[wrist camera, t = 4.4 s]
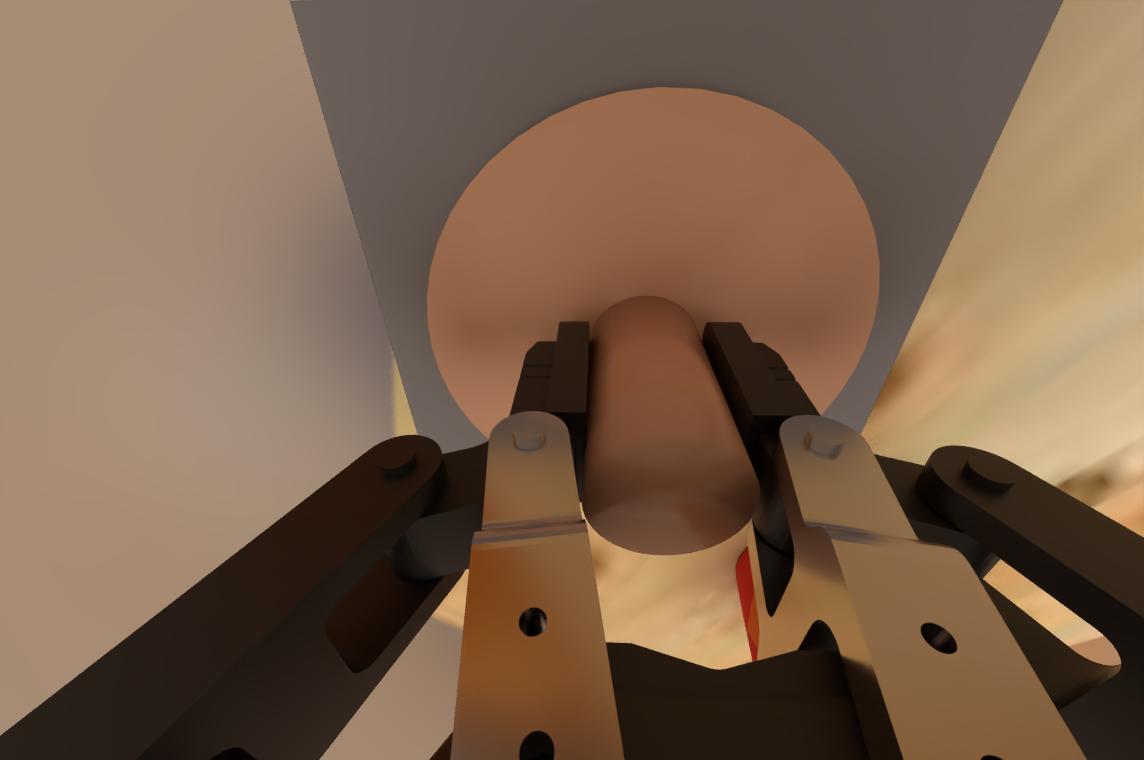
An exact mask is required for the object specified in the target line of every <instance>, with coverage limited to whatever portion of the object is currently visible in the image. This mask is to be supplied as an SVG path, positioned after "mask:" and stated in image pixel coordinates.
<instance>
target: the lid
mask: <svg viewBox="0 0 1144 760" xmlns="http://www.w3.org/2000/svg"><path fill="white" fill-rule="evenodd" d="M879 273H880V262H879V256H878V249H877V242H876V236H875V232H874V229H873V226H872V223H871V220H870V217H869V214H868V211H867V208H866V205H865V203H864V201H863V199H862V197H861V196H860V194H859V192H858V190H857V188H856V186H855V185H854V183H853V181H852V179H851V177H850V176H849V175H848V173H847V172H846V171H845V170H844V168H843V167H842V166H841V165H840V163H839V162H838V161H837V160H836V158H835V157H834V156H833V155H832V153H831V152H830V151H829V150H828V149H827V148H825V147H824V146H823V145H822V144H821V143H820V142H819V141H817V140H816V139H815V138H814V137H813V136H812V135H810V134H809V133H808V132H807V131H806V130H805V129H804V128H802V127H800V126H799V125H797V124H795V123H794V122H792V121H790V120H789V119H787V118H785V117H783V116H782V115H780V114H778V113H777V112H775V111H773V110H771V109H769V108H766V107H764V106H761V105H758V104H756V103H753V102H751V101H748V100H745V99H743V98H740V97H738V96H733V95H728V94H723V93H718V92H713V91H708V90H703V89H694V88H669V87H651V88H642V89H634V90H625V91H618V92H614V93H611V94H607V95H604V96H600V97H596V98H593V99H589V100H585V101H583V102H580V103H578V104H576V105H574V106H571V107H569V108H567V109H565V110H562V111H560V112H558V113H556V114H553V115H551V116H550V117H548V118H547V119H545V120H543V121H542V122H540V123H539V124H537V125H535V126H534V127H532V128H531V129H529V130H528V131H526V132H524V133H523V134H521V135H520V136H518V137H517V138H516V139H514V140H513V141H512V142H511V143H510V144H509V145H507V146H506V147H505V148H504V149H503V150H502V151H500V152H499V153H498V154H497V155H496V156H495V157H493V158H492V159H491V160H490V161H489V162H488V163H487V164H486V166H485V167H484V168H483V169H482V170H481V171H480V173H479V174H478V175H477V176H476V177H475V178H474V179H473V181H472V182H471V183H470V184H469V185H468V186H467V188H466V189H465V191H464V193H463V194H462V196H461V197H460V199H459V201H458V202H457V204H456V205H455V207H454V209H453V210H452V212H451V213H450V215H449V217H448V220H447V222H446V224H445V227H444V229H443V231H442V233H441V236H440V238H439V240H438V243H437V246H436V250H435V254H434V257H433V261H432V265H431V268H430V275H429V284H428V292H427V317H428V328H429V334H430V339H431V345H432V349H433V352H434V356H435V359H436V362H437V365H438V368H439V371H440V373H441V375H442V377H443V379H444V381H445V383H446V386H447V388H448V390H449V392H450V393H451V395H452V396H453V398H454V399H455V401H456V403H457V404H458V406H459V407H460V409H461V410H462V411H463V413H464V414H465V415H466V416H467V417H468V419H469V420H470V421H471V422H472V423H473V425H474V426H475V427H476V428H477V429H478V430H479V431H480V432H481V433H482V434H483V435H484V436H485V437H487V438H488V439H489V437H490V434H491V431H492V430H493V428H494V427H495V426H496V425H497V424H498V423H499V422H500V421H502V420H503V419H505V418H507V417H509V415H510V411H511V407H512V404H513V400H514V396H515V392H516V389H517V385H518V381H519V379H520V374H521V370H522V368H523V362H524V359H525V355H526V352H527V351H528V350H529V349H530V348H531V347H532V346H533V345H534V344H535V343H536V342H538V341H556V340H557V334H558V327H559V322H560V321H589V326H590V342H589V373H588V404H587V434H586V447H585V451H584V458H583V480H582V508H583V512H584V515H585V517H586V519H587V521H588V523H589V524H590V525H591V526H592V528H593V529H594V530H595V531H596V532H597V533H598V534H599V535H601V536H602V537H603V538H605V539H606V540H608V541H609V542H611V543H613V544H615V545H617V546H619V547H622V548H624V549H628V550H631V551H634V552H639V553H644V554H651V555H678V554H686V553H692V552H696V551H700V550H704V549H707V548H710V547H713V546H715V545H717V544H719V543H722V542H723V541H725V540H727V539H729V538H730V537H732V536H733V535H735V534H736V533H738V532H739V531H740V530H741V529H742V528H743V527H744V526H745V525H746V524H747V523H748V522H749V521H750V519H751V518H752V516H753V515H754V513H755V511H756V509H757V507H758V504H759V499H760V486H759V481H758V478H757V476H756V473H755V471H754V469H753V466H752V464H751V461H750V459H749V456H748V454H747V451H746V449H745V446H744V444H743V441H742V439H741V436H740V434H739V431H738V429H737V426H736V424H735V422H734V419H733V417H732V414H731V412H730V409H729V407H728V404H727V402H726V399H725V397H724V394H723V392H722V389H721V387H720V384H719V382H718V379H717V377H716V375H715V372H714V370H713V367H712V365H711V362H710V360H709V357H708V355H707V352H706V350H705V347H704V345H703V342H702V337H703V331H704V327H705V325H706V323H707V322H740V323H741V324H742V325H743V327H744V328H745V330H746V332H747V333H748V335H749V337H750V338H751V340H752V342H759V343H764V344H765V345H767V346H768V347H770V348H771V349H773V350H774V351H776V352H777V353H779V354H780V356H781V357H782V359H783V360H784V362H785V363H786V365H787V366H788V370H790V371H791V372H792V374H793V375H794V377H795V378H796V382H798V383H799V384H800V385H801V387H802V388H803V390H804V391H805V393H806V394H807V396H808V397H809V399H810V400H811V402H812V403H813V405H814V406H815V408H816V409H817V411H818V412H819V414H820V415H821V414H822V413H824V411H825V410H826V409H827V408H828V406H829V405H830V404H831V403H832V402H833V400H834V399H835V398H836V397H837V396H838V394H839V393H840V392H841V390H842V389H843V387H844V386H845V384H846V382H847V381H848V379H849V378H850V376H851V375H852V373H853V372H854V370H855V368H856V366H857V364H858V362H859V360H860V358H861V355H862V353H863V351H864V349H865V347H866V345H867V341H868V338H869V335H870V332H871V329H872V326H873V323H874V320H875V314H876V308H877V302H878V296H879Z"/></svg>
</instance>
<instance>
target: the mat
mask: <svg viewBox="0 0 1144 760" xmlns="http://www.w3.org/2000/svg"><path fill="white" fill-rule="evenodd" d="M1062 2H1063V0H298V1H290V3H291V7H292V10H293V14H294V17H295V20H296V24H297V27H298V31H299V34H300V37H301V41H302V44H303V47H304V51H305V54H306V57H307V61H308V64H309V67H310V71H311V75H312V78H313V81H314V85H315V88H316V91H317V95H318V98H319V102H320V105H321V108H322V112H323V115H324V119H325V122H326V125H327V129H328V132H329V135H330V139H331V142H332V145H333V149H334V152H335V156H336V159H337V162H338V166H339V169H340V173H341V176H342V179H343V183H344V186H345V190H346V193H347V196H348V200H349V203H350V206H351V210H352V213H353V217H354V220H355V224H356V227H357V230H358V233H359V237H360V240H361V244H362V247H363V251H364V254H365V257H366V261H367V264H368V268H369V271H370V274H371V278H372V281H373V284H374V288H375V291H376V295H377V298H378V301H379V304H380V308H381V311H382V315H383V318H384V321H385V325H386V328H387V332H388V335H389V339H390V342H391V345H392V349H393V352H394V356H395V359H396V362H397V366H398V369H399V372H400V376H401V379H402V383H403V386H404V389H405V393H406V396H407V400H408V403H409V406H410V410H411V413H412V416H413V420H414V423H415V427H416V430H417V433H418V435H420V436H425V437H428V438H430V439H432V440H434V441H435V442H436V443H437V444H438V445H439V446H440V448H441V451H442V454H444V453H449V452H453V451H458V450H462V449H467V448H471V447H475V446H478V445H480V444H483V443H485V442H487V441H489V439H488V438H487V437H485V436H484V435H483V434H482V433H481V432H480V431H479V430H478V429H477V428H476V427H475V426H474V425H473V423H472V422H471V421H470V420H469V419H468V417H467V416H466V415H465V414H464V413H463V411H462V410H461V409H460V407H459V406H458V404H457V403H456V401H455V399H454V398H453V396H452V395H451V393H450V392H449V390H448V388H447V386H446V383H445V381H444V379H443V377H442V375H441V373H440V371H439V368H438V365H437V362H436V359H435V356H434V352H433V349H432V345H431V339H430V334H429V328H428V317H427V292H428V284H429V275H430V268H431V265H432V261H433V257H434V254H435V250H436V246H437V243H438V240H439V238H440V236H441V233H442V231H443V229H444V227H445V224H446V222H447V220H448V217H449V215H450V213H451V212H452V210H453V209H454V207H455V205H456V204H457V202H458V201H459V199H460V197H461V196H462V194H463V193H464V191H465V189H466V188H467V186H468V185H469V184H470V183H471V182H472V181H473V179H474V178H475V177H476V176H477V175H478V174H479V173H480V171H481V170H482V169H483V168H484V167H485V166H486V164H487V163H488V162H489V161H490V160H491V159H492V158H493V157H495V156H496V155H497V154H498V153H499V152H500V151H502V150H503V149H504V148H505V147H506V146H507V145H509V144H510V143H511V142H512V141H513V140H514V139H516V138H517V137H518V136H520V135H521V134H523V133H524V132H526V131H528V130H529V129H531V128H532V127H534V126H535V125H537V124H539V123H540V122H542V121H543V120H545V119H547V118H548V117H550V116H551V115H553V114H556V113H558V112H560V111H562V110H565V109H567V108H569V107H571V106H574V105H576V104H578V103H580V102H583V101H585V100H589V99H593V98H596V97H600V96H604V95H607V94H611V93H614V92H618V91H625V90H634V89H642V88H651V87H669V88H694V89H703V90H708V91H713V92H718V93H723V94H728V95H733V96H738V97H740V98H743V99H745V100H748V101H751V102H753V103H756V104H758V105H761V106H764V107H766V108H769V109H771V110H773V111H775V112H777V113H778V114H780V115H782V116H783V117H785V118H787V119H789V120H790V121H792V122H794V123H795V124H797V125H799V126H800V127H802V128H804V129H805V130H806V131H807V132H808V133H809V134H810V135H812V136H813V137H814V138H815V139H816V140H817V141H819V142H820V143H821V144H822V145H823V146H824V147H825V148H827V149H828V150H829V151H830V152H831V153H832V155H833V156H834V157H835V158H836V160H837V161H838V162H839V163H840V165H841V166H842V167H843V168H844V170H845V171H846V172H847V173H848V175H849V176H850V177H851V179H852V181H853V183H854V185H855V186H856V188H857V190H858V192H859V194H860V196H861V197H862V199H863V201H864V203H865V205H866V208H867V211H868V214H869V217H870V220H871V223H872V226H873V229H874V232H875V236H876V242H877V249H878V256H879V262H880V273H879V296H878V302H877V308H876V314H875V320H874V323H873V326H872V329H871V332H870V335H869V338H868V341H867V345H866V347H865V349H864V351H863V353H862V355H861V358H860V360H859V362H858V364H857V366H856V368H855V370H854V372H853V373H852V375H851V376H850V378H849V379H848V381H847V382H846V384H845V386H844V387H843V389H842V390H841V392H840V393H839V394H838V396H837V397H836V398H835V399H834V400H833V402H832V403H831V404H830V405H829V406H828V408H827V409H826V410H825V411H824V413H822V414H821V416H822V417H826V418H830V419H833V420H836V421H838V422H840V423H843V424H845V425H847V426H848V427H850V428H852V429H853V430H855V431H856V432H857V433H859V434H861V432H862V430H863V428H864V426H865V424H866V422H867V419H868V417H869V415H870V413H871V411H872V409H873V407H874V404H875V402H876V400H877V398H878V396H879V394H880V392H881V389H882V387H883V385H884V383H885V381H886V379H887V377H888V374H889V372H890V370H891V368H892V366H893V364H894V362H895V359H896V357H897V355H898V353H899V351H900V349H901V347H902V345H903V342H904V340H905V338H906V336H907V334H908V332H909V330H910V327H911V325H912V323H913V321H914V319H915V317H916V315H917V312H918V310H919V308H920V306H921V304H922V302H923V300H924V297H925V295H926V293H927V291H928V289H929V287H930V285H931V282H932V280H933V278H934V276H935V274H936V272H937V270H938V267H939V265H940V263H941V261H942V259H943V257H944V255H945V253H946V250H947V248H948V246H949V244H950V242H951V240H952V238H953V235H954V233H955V231H956V229H957V227H958V225H959V223H960V220H961V218H962V216H963V214H964V212H965V210H966V208H967V205H968V203H969V201H970V199H971V197H972V195H973V193H974V190H975V188H976V186H977V184H978V182H979V180H980V178H981V175H982V173H983V171H984V169H985V167H986V165H987V163H988V161H989V158H990V156H991V154H992V152H993V150H994V148H995V146H996V143H997V141H998V139H999V137H1000V135H1001V133H1002V131H1003V128H1004V126H1005V124H1006V122H1007V120H1008V118H1009V116H1010V113H1011V111H1012V109H1013V107H1014V105H1015V103H1016V101H1017V98H1018V96H1019V94H1020V92H1021V90H1022V88H1023V86H1024V83H1025V81H1026V79H1027V77H1028V75H1029V73H1030V71H1031V69H1032V66H1033V64H1034V62H1035V60H1036V58H1037V56H1038V54H1039V51H1040V49H1041V47H1042V45H1043V43H1044V41H1045V39H1046V36H1047V34H1048V32H1049V30H1050V28H1051V26H1052V24H1053V21H1054V19H1055V17H1056V15H1057V13H1058V11H1059V9H1060V6H1061V4H1062ZM579 503H582V502H579Z"/></svg>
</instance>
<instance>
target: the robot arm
mask: <svg viewBox="0 0 1144 760" xmlns="http://www.w3.org/2000/svg"><path fill="white" fill-rule="evenodd" d="M589 342H590V326H589V321H560V322H559V327H558V334H557V340H556V341H538V342H536V343H535V344H534V345H533V346H532V347H531V348H530V349H529V350H528V351H527V352H526V355H525V359H524V362H523V368H522V370H521V374H520V379H519V381H518V385H517V389H516V392H515V396H514V400H513V404H512V407H511V411H510V415H509V417H507V418H505V419H503V420H502V421H500V422H499V423H498V424H497V425H496V426H495V427H494V428H493V430H492V431H491V434H490V437H489V441H487V442H485V443H483V444H480V445H478V446H475V447H471V448H467V449H462V450H458V451H453V452H449V453H444V454H442V451H441V448H440V446H439V445H438V444H437V443H436V442H435V441H434V440H432V439H430V438H428V437H425V436H420V435H404V436H399V437H394V438H391V439H388V440H386V441H384V442H381V443H379V444H378V445H376V446H374V447H373V448H371V449H370V450H368V451H367V452H366V453H364V454H363V455H362V456H360V457H359V458H358V459H357V460H355V461H354V462H353V463H351V464H350V465H349V466H348V467H346V468H345V469H344V470H342V471H341V472H340V473H339V474H337V475H336V476H335V477H334V478H332V479H331V480H330V481H328V482H327V483H326V484H325V485H323V486H322V487H320V488H319V489H318V490H317V491H315V492H314V493H313V494H312V495H310V496H309V497H308V498H306V499H305V500H304V501H302V502H301V503H300V504H299V505H297V506H296V507H295V508H293V509H292V510H291V511H290V512H288V513H287V514H286V515H284V516H283V517H282V518H281V519H279V520H278V521H277V522H275V523H274V524H273V525H271V526H270V527H269V528H268V529H266V530H265V531H264V532H262V533H261V534H260V535H259V536H257V537H256V538H255V539H254V540H252V541H251V542H250V543H248V544H247V545H246V546H245V547H243V548H242V549H241V550H239V551H238V552H237V553H235V554H234V555H233V556H231V557H230V558H229V559H228V560H226V561H225V562H224V563H222V564H221V565H220V566H219V567H217V568H216V569H215V570H213V571H212V572H211V573H210V574H208V575H207V576H206V577H204V578H203V579H202V580H201V581H199V582H198V583H197V584H195V585H194V586H193V587H191V588H190V589H189V590H188V591H186V592H185V593H184V594H182V595H181V596H180V597H179V598H178V599H176V600H175V601H173V602H172V603H171V604H170V605H168V606H167V607H166V608H164V609H163V610H162V611H161V612H159V613H158V614H157V615H155V616H154V617H153V618H151V619H150V620H149V621H148V622H146V623H145V624H144V625H143V626H141V627H140V628H139V629H137V630H136V631H135V632H133V633H132V634H131V635H130V636H128V637H127V638H126V639H124V640H123V641H122V642H121V643H119V644H118V645H117V646H115V647H114V648H113V649H111V650H110V651H109V652H108V653H106V654H105V655H104V656H102V657H101V658H100V659H99V660H97V661H96V662H95V663H93V664H92V665H91V666H90V667H88V668H87V669H86V670H84V671H83V672H82V673H81V674H79V675H78V676H77V677H76V678H74V679H73V680H72V681H70V682H69V683H68V684H66V685H65V686H64V687H62V688H61V689H60V690H59V691H57V692H56V693H55V694H53V695H52V696H51V697H50V698H48V699H47V700H46V701H44V702H43V703H42V704H41V705H39V706H38V707H37V708H35V709H34V710H33V711H32V712H30V713H29V714H28V715H26V716H25V717H24V718H22V719H21V720H20V721H19V722H17V723H16V724H15V725H14V726H12V727H11V728H10V729H8V730H7V731H6V732H4V733H3V734H2V735H1V736H0V760H319V759H320V758H321V757H322V755H323V754H324V753H325V752H326V750H327V749H328V748H329V746H330V745H331V744H332V743H333V741H334V740H335V739H336V737H337V736H338V735H339V734H340V732H341V731H342V730H343V728H344V727H345V726H346V725H347V723H348V722H349V720H350V719H351V718H352V717H353V715H354V714H355V713H356V712H357V710H358V709H359V708H360V707H361V705H362V704H363V703H364V701H365V700H366V699H367V698H368V696H369V695H370V693H371V692H372V691H373V690H374V689H375V687H376V686H377V685H378V683H379V682H380V681H381V679H382V678H383V677H384V676H385V674H386V673H387V672H388V670H389V669H390V668H391V667H392V665H393V664H394V663H395V662H396V660H397V659H398V658H399V656H400V655H401V654H402V653H403V651H404V650H405V649H406V647H407V646H408V645H409V644H410V642H411V641H412V640H413V638H414V637H415V636H416V634H417V633H418V632H419V631H420V629H421V628H422V627H423V625H424V624H425V623H426V622H427V620H428V619H429V618H430V616H431V615H432V614H433V613H434V611H435V610H436V609H437V607H438V606H439V605H440V604H441V602H442V601H443V600H444V598H445V597H446V596H447V595H448V593H449V592H450V591H451V589H452V588H453V587H454V586H455V584H456V583H457V582H458V580H459V579H460V578H461V576H462V575H463V573H464V571H465V570H466V569H469V575H468V585H467V596H466V606H465V616H464V626H463V637H462V646H461V658H460V667H459V677H458V687H457V688H458V689H457V698H456V708H455V718H454V728H453V732H452V733H451V734H450V735H449V737H448V738H447V739H446V740H445V741H444V743H443V744H442V745H441V746H440V747H439V749H438V750H437V751H436V752H435V753H434V755H433V756H432V757H431V758H430V760H1144V537H1142V536H1140V535H1138V534H1137V533H1135V532H1133V531H1131V530H1130V529H1128V528H1126V527H1124V526H1123V525H1121V524H1119V523H1117V522H1116V521H1114V520H1112V519H1110V518H1109V517H1107V516H1105V515H1103V514H1102V513H1100V512H1098V511H1096V510H1095V509H1093V508H1091V507H1089V506H1088V505H1086V504H1084V503H1082V502H1081V501H1079V500H1077V499H1075V498H1074V497H1072V496H1070V495H1068V494H1067V493H1065V492H1063V491H1061V490H1060V489H1058V488H1056V487H1054V486H1053V485H1051V484H1049V483H1047V482H1046V481H1044V480H1042V479H1040V478H1039V477H1037V476H1035V475H1033V474H1032V473H1030V472H1028V471H1026V470H1025V469H1023V468H1021V467H1019V466H1018V465H1016V464H1014V463H1012V462H1010V461H1008V460H1006V459H1004V458H1002V457H1000V456H997V455H995V454H992V453H989V452H987V451H983V450H980V449H976V448H971V447H966V446H944V447H941V448H938V449H936V450H935V451H934V452H933V453H932V454H931V456H930V457H929V459H928V461H927V462H926V464H925V466H924V465H919V464H915V463H910V462H906V461H901V460H897V459H893V458H888V457H884V456H880V455H876V454H873V452H872V450H871V448H870V446H869V444H868V443H867V441H866V440H865V439H864V438H863V437H862V436H861V435H860V434H859V433H857V432H856V431H855V430H853V429H852V428H850V427H848V426H847V425H845V424H843V423H840V422H838V421H836V420H833V419H830V418H826V417H822V416H821V415H820V414H819V412H818V411H817V409H816V408H815V406H814V405H813V403H812V402H811V400H810V399H809V397H808V396H807V394H806V393H805V391H804V390H803V388H802V387H801V385H800V384H799V383H798V382H796V378H795V377H794V375H793V374H792V372H791V371H790V370H788V366H787V365H786V363H785V362H784V360H783V359H782V357H781V356H780V354H779V353H777V352H776V351H774V350H773V349H771V348H770V347H768V346H767V345H765V344H764V343H759V342H752V340H751V338H750V337H749V335H748V333H747V332H746V330H745V328H744V327H743V325H742V324H741V323H740V322H707V323H706V325H705V327H704V331H703V337H702V342H703V345H704V347H705V350H706V352H707V355H708V357H709V360H710V362H711V365H712V367H713V370H714V372H715V375H716V377H717V379H718V382H719V384H720V387H721V389H722V392H723V394H724V397H725V399H726V402H727V404H728V407H729V409H730V412H731V414H732V417H733V419H734V422H735V424H736V426H737V429H738V431H739V434H740V436H741V439H742V441H743V444H744V446H745V449H746V451H747V454H748V456H749V459H750V461H751V464H752V466H753V469H754V471H755V473H756V476H757V478H758V481H759V486H760V499H759V504H758V507H757V509H756V511H755V513H754V515H753V516H752V518H751V519H750V521H749V524H748V527H747V543H748V550H749V557H750V564H751V571H752V578H753V585H754V592H755V598H756V605H757V612H758V619H759V646H758V655H757V661H754V662H750V663H746V664H743V665H739V666H735V667H731V668H728V669H722V670H716V669H710V668H707V667H704V666H701V665H697V664H694V663H691V662H688V661H685V660H682V659H679V658H676V657H672V656H669V655H666V654H663V653H660V652H657V651H654V650H651V649H648V648H644V647H641V646H638V645H635V644H632V643H611V642H606V641H605V635H604V628H603V622H602V616H601V610H600V604H599V597H598V591H597V585H596V579H595V572H594V566H593V560H592V554H591V548H590V541H589V535H588V530H587V525H586V522H585V519H583V520H582V516H581V510H580V504H579V502H582V480H583V458H584V451H585V447H586V434H587V404H588V373H589ZM1000 559H1001V560H1003V561H1004V562H1005V563H1007V564H1008V565H1010V566H1011V567H1012V568H1014V569H1015V570H1016V571H1018V572H1019V573H1020V574H1022V575H1023V576H1025V577H1026V578H1027V579H1029V580H1030V581H1031V582H1033V583H1034V584H1036V585H1037V586H1038V587H1040V588H1041V589H1042V590H1044V591H1045V592H1046V593H1048V594H1049V595H1051V596H1052V597H1053V598H1055V599H1056V600H1057V601H1059V602H1060V603H1061V604H1063V605H1064V606H1066V607H1067V608H1068V609H1070V610H1071V611H1072V612H1074V613H1075V614H1076V615H1078V616H1079V617H1081V618H1082V619H1083V620H1085V621H1086V622H1087V623H1089V624H1090V625H1091V626H1093V627H1094V628H1096V629H1097V630H1098V631H1099V632H1101V633H1102V634H1103V635H1104V636H1105V637H1106V638H1107V639H1108V640H1109V641H1110V642H1111V643H1112V644H1113V646H1114V647H1115V649H1116V650H1117V652H1118V654H1119V656H1120V659H1121V664H1119V665H1115V666H1108V665H1102V664H1099V663H1096V662H1093V661H1091V660H1088V659H1086V658H1084V657H1083V656H1081V655H1079V654H1078V653H1076V652H1075V651H1073V650H1072V649H1071V648H1070V647H1069V646H1067V645H1066V644H1065V643H1063V642H1062V641H1061V640H1060V639H1058V638H1057V637H1056V636H1055V635H1053V634H1052V633H1051V632H1049V631H1048V630H1047V629H1046V628H1044V627H1043V626H1042V625H1041V624H1039V623H1038V622H1037V621H1035V620H1034V619H1033V618H1032V617H1030V616H1029V615H1028V614H1027V613H1025V612H1024V611H1023V610H1021V609H1020V608H1019V607H1018V606H1016V605H1015V604H1014V603H1013V602H1011V601H1010V600H1009V599H1007V598H1006V597H1005V596H1004V595H1002V594H1001V593H1000V592H999V591H997V590H996V589H995V588H993V587H992V586H991V585H990V584H988V583H987V582H986V581H985V580H983V578H984V577H985V576H986V575H987V573H988V572H989V571H990V570H991V569H992V568H993V567H994V566H995V565H996V564H997V562H998V561H999V560H1000Z"/></svg>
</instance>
